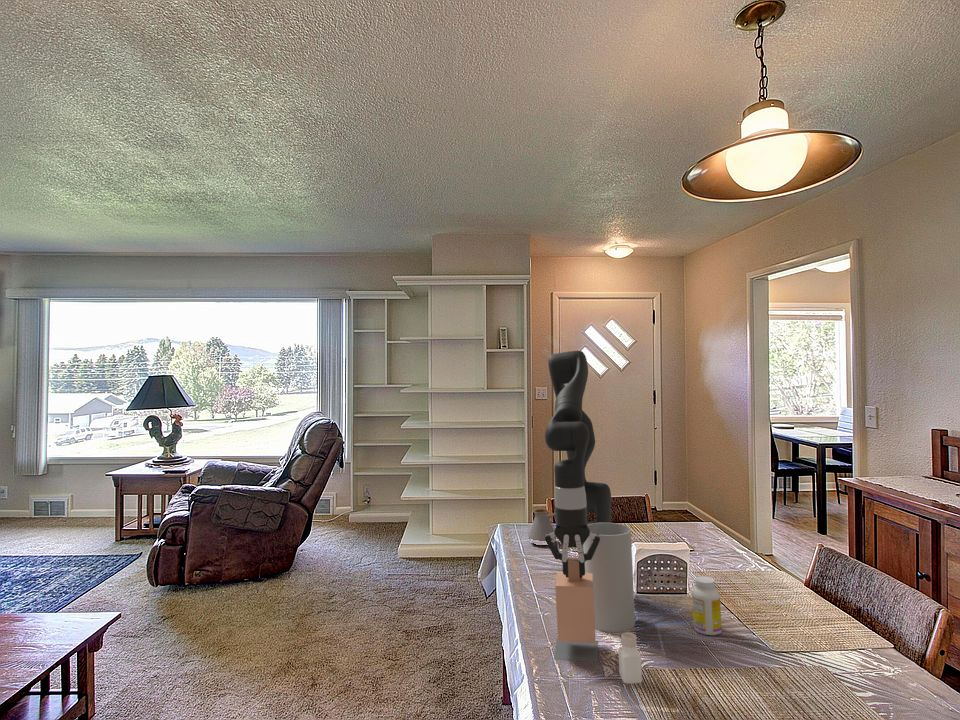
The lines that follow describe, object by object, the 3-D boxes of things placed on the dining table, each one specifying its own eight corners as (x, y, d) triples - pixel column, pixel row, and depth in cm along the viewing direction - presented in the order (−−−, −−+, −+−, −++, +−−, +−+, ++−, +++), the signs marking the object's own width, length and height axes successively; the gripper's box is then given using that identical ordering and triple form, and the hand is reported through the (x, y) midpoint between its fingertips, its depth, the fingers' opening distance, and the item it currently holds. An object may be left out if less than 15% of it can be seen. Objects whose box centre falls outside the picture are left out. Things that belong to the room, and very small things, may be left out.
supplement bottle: (720, 626, 137) (718, 575, 138) (723, 638, 131) (720, 585, 132) (693, 623, 140) (690, 573, 140) (694, 634, 133) (691, 583, 134)
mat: (597, 643, 131) (597, 641, 131) (598, 664, 121) (598, 662, 121) (556, 640, 133) (556, 638, 133) (554, 661, 123) (554, 659, 123)
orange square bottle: (595, 625, 131) (591, 553, 131) (595, 643, 122) (591, 566, 123) (560, 624, 132) (556, 552, 133) (558, 641, 124) (554, 565, 124)
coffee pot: (535, 549, 205) (533, 510, 206) (523, 541, 216) (522, 504, 217) (584, 542, 212) (582, 504, 213) (570, 534, 223) (569, 498, 224)
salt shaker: (636, 675, 116) (634, 631, 117) (643, 685, 112) (640, 639, 113) (618, 676, 116) (616, 631, 117) (624, 686, 112) (622, 640, 113)
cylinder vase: (608, 639, 133) (604, 538, 134) (577, 620, 144) (573, 527, 145) (645, 627, 138) (640, 530, 139) (612, 609, 149) (608, 520, 151)
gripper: (599, 500, 130) (603, 571, 130) (543, 500, 133) (546, 570, 133) (600, 508, 123) (604, 583, 123) (540, 508, 126) (543, 581, 125)
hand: (574, 576), depth 128 cm, fingers closed on orange square bottle, 2 cm apart
